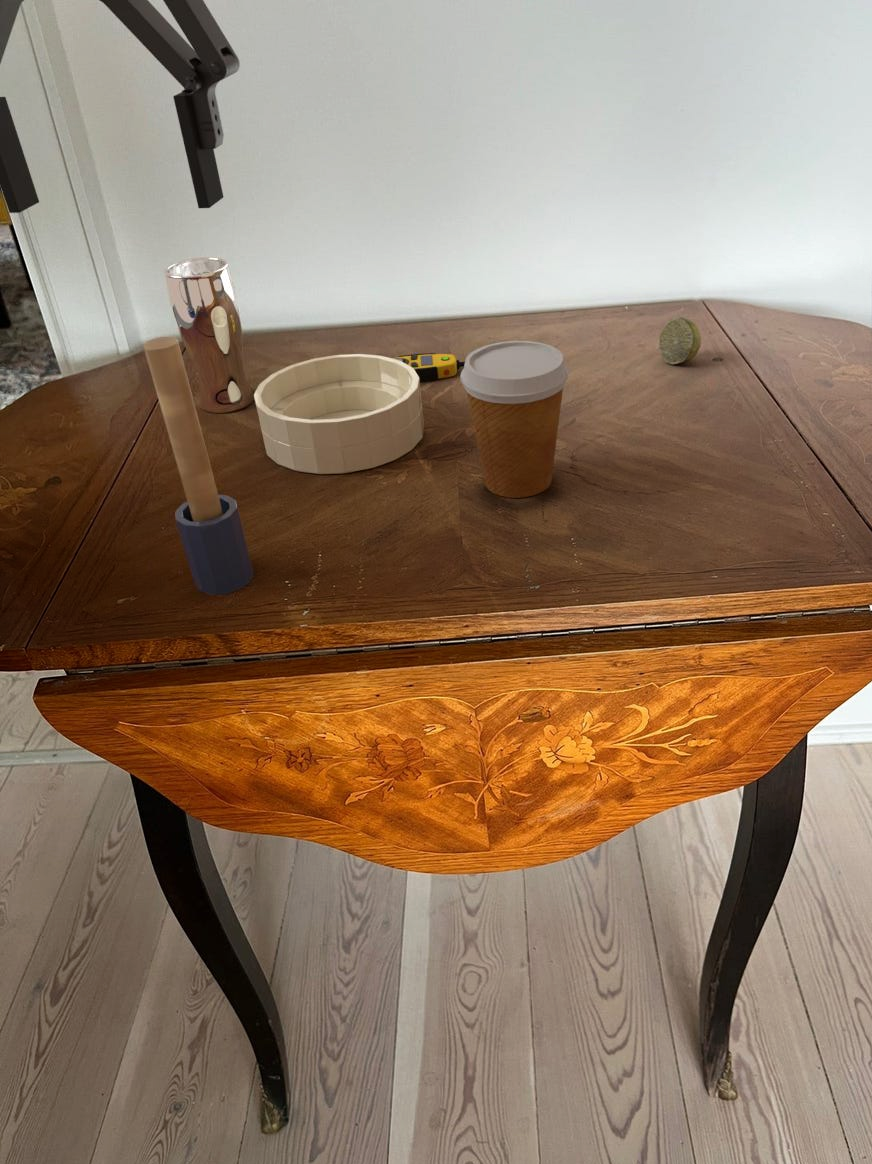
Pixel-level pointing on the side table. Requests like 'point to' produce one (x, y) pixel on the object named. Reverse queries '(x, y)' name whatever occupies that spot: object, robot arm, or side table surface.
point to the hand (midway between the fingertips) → (116, 205)
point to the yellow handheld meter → (432, 365)
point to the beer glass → (210, 330)
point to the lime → (679, 341)
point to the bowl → (340, 413)
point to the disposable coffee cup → (516, 413)
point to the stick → (183, 427)
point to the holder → (216, 549)
